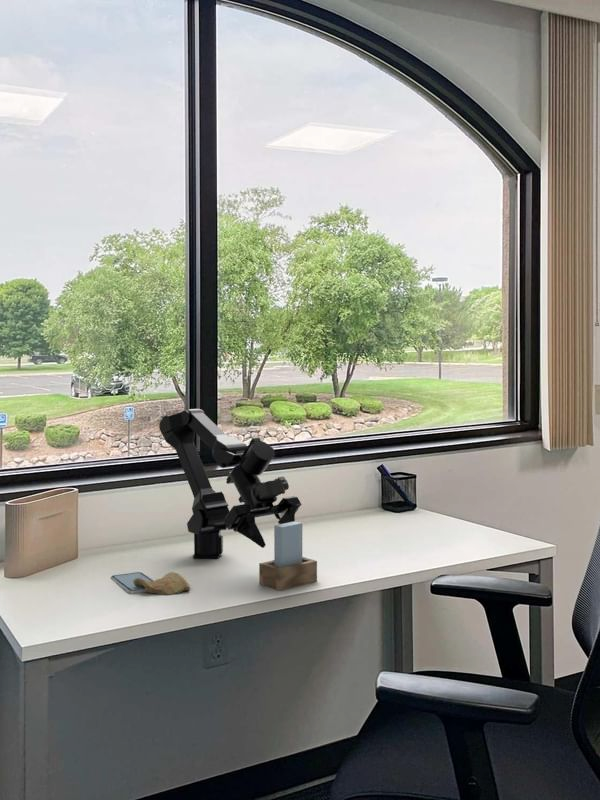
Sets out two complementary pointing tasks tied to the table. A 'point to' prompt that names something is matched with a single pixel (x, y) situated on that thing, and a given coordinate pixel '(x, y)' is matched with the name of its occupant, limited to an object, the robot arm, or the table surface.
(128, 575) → the smartphone
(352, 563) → the table surface
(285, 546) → the slate card
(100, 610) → the table surface
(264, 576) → the brown wooden open box
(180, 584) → the brown tapered lumpy piece
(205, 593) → the table surface
